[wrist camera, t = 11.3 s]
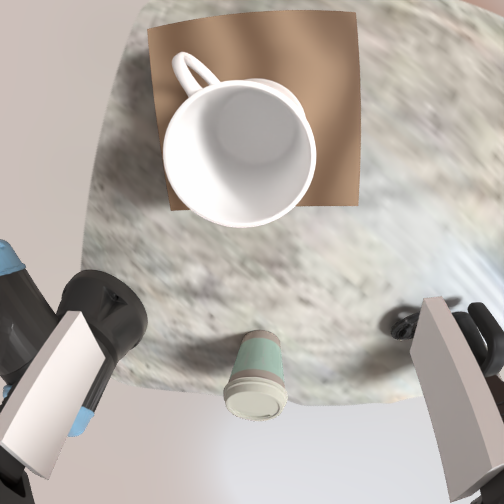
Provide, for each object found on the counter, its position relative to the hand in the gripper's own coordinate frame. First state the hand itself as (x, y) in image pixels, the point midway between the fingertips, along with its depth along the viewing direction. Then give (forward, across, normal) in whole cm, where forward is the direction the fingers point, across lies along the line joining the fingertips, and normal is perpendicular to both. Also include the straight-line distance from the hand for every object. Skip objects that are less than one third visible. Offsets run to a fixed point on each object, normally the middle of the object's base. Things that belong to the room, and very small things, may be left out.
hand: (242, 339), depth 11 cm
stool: (+27, 0, +6) cm, 28 cm away
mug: (+20, -1, +6) cm, 21 cm away
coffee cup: (+27, -4, -28) cm, 39 cm away
